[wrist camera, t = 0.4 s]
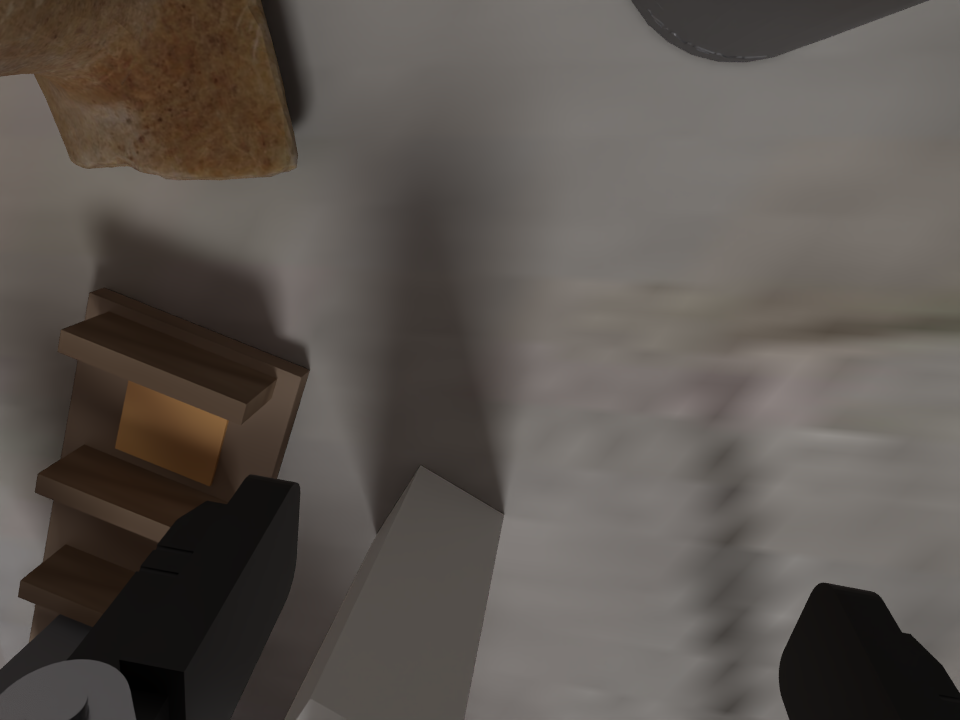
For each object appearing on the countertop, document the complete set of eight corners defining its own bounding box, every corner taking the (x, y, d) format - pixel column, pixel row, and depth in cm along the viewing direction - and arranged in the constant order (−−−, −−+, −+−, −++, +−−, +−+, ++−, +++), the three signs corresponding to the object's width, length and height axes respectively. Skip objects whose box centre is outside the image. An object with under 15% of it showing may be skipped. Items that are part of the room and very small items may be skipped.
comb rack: (104, 287, 32) (39, 309, 28) (309, 370, 31) (272, 402, 28) (39, 647, 39) (-19, 703, 35) (205, 715, 39) (165, 777, 35)
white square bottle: (420, 465, 32) (263, 798, 16) (504, 514, 32) (430, 890, 16) (376, 534, 34) (192, 902, 18) (456, 581, 34) (346, 986, 18)
